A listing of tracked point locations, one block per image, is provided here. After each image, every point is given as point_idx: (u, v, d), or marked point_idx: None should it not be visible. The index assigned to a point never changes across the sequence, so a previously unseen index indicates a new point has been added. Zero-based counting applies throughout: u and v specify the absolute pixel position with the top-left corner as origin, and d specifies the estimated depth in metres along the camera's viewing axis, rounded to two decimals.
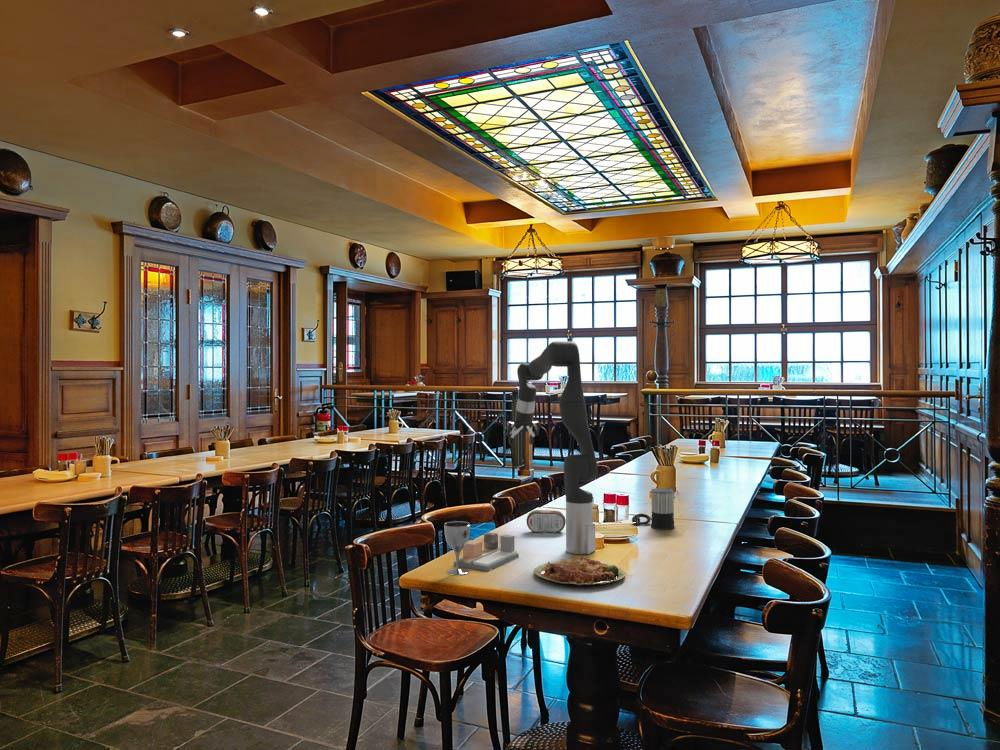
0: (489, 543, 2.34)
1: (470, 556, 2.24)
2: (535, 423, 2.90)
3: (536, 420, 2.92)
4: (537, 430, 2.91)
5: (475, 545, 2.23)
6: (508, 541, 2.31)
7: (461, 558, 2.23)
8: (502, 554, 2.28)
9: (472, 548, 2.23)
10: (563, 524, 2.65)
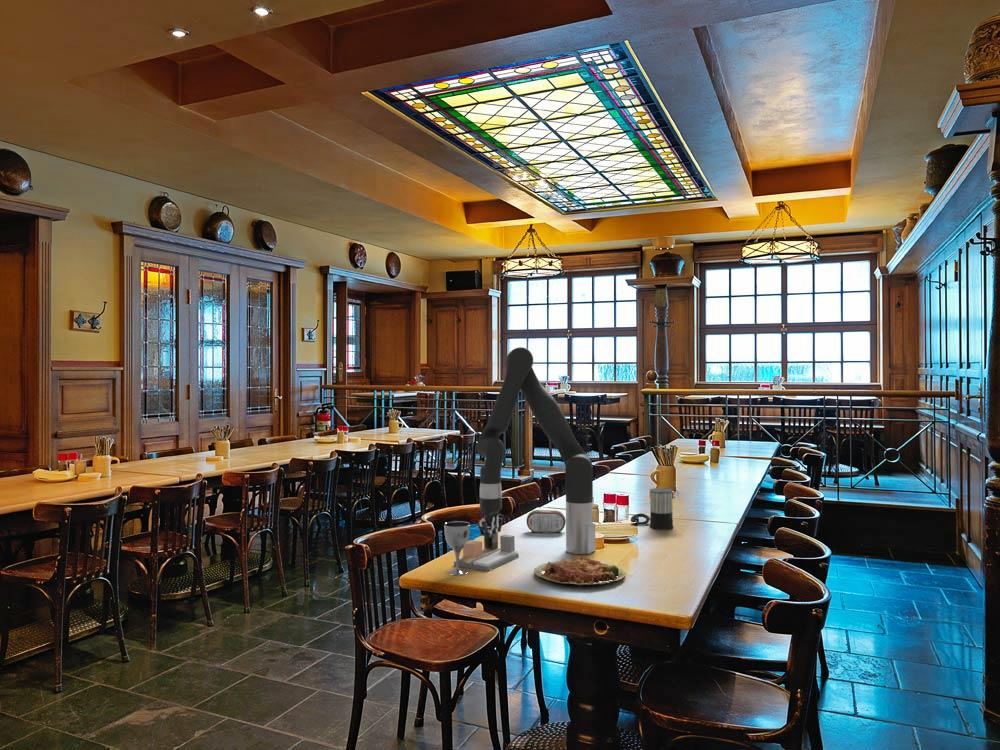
0: None
1: (470, 556, 2.24)
2: (499, 515, 2.40)
3: None
4: (500, 525, 2.39)
5: (475, 545, 2.23)
6: (508, 541, 2.31)
7: (461, 558, 2.23)
8: (502, 554, 2.28)
9: (472, 548, 2.23)
10: (563, 524, 2.65)
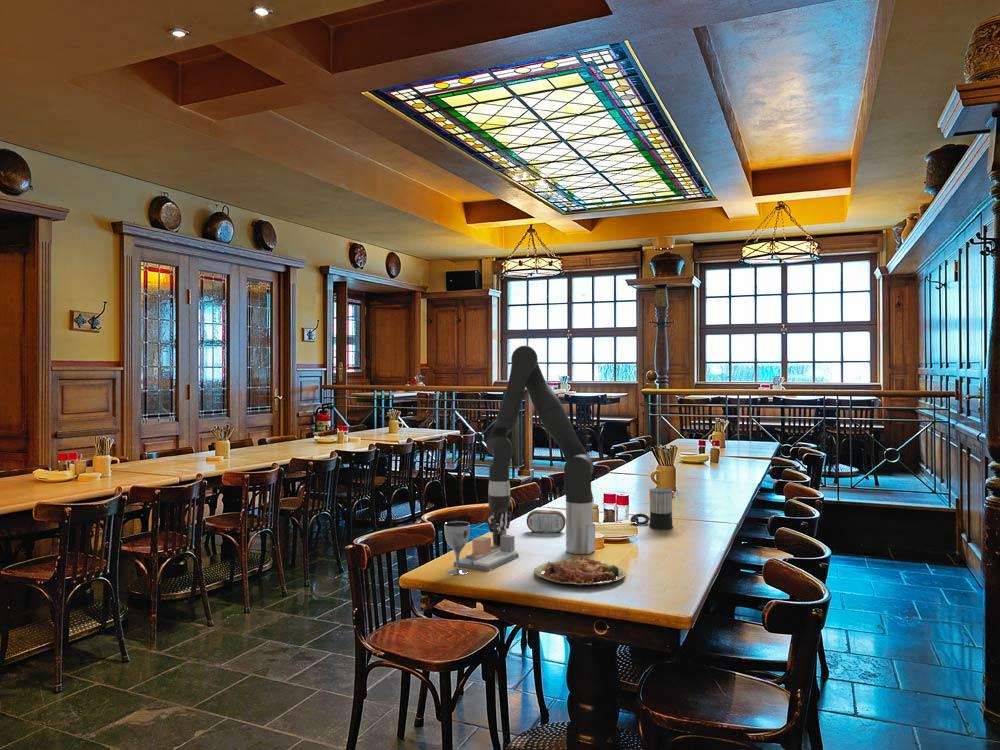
0: None
1: (479, 552, 2.28)
2: (507, 512, 2.44)
3: None
4: (508, 522, 2.43)
5: (484, 541, 2.28)
6: (508, 541, 2.31)
7: (471, 554, 2.28)
8: (502, 554, 2.28)
9: (481, 545, 2.28)
10: (563, 524, 2.65)
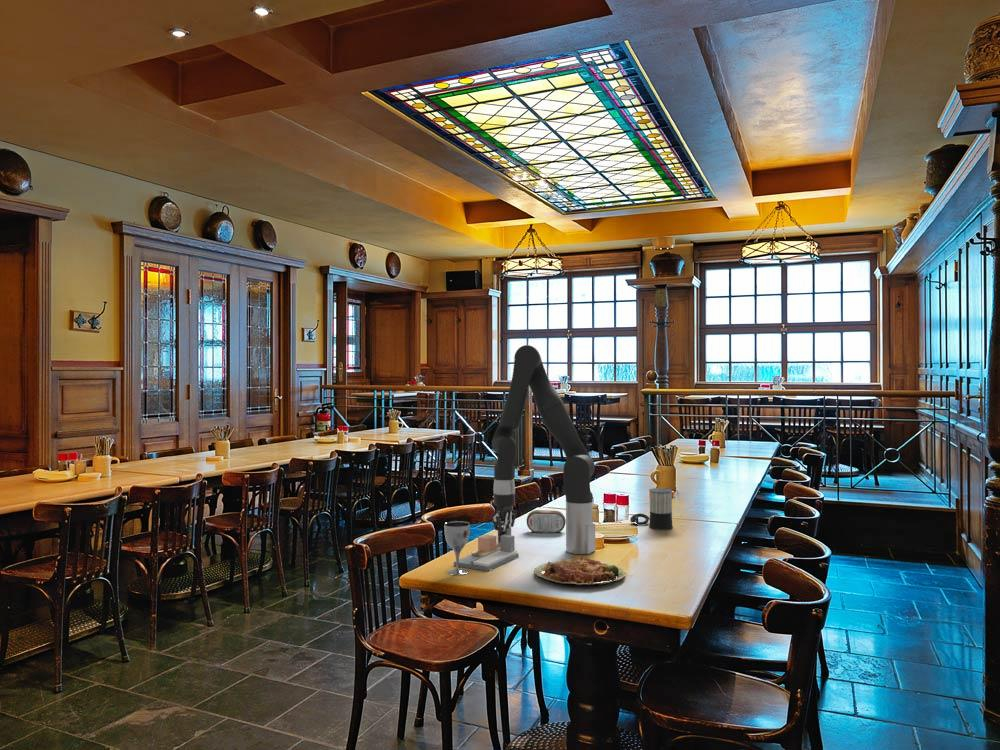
0: None
1: (485, 550, 2.31)
2: (512, 511, 2.47)
3: None
4: (513, 520, 2.46)
5: (490, 539, 2.31)
6: (508, 541, 2.31)
7: (476, 552, 2.31)
8: (502, 554, 2.28)
9: (487, 542, 2.31)
10: (563, 524, 2.65)
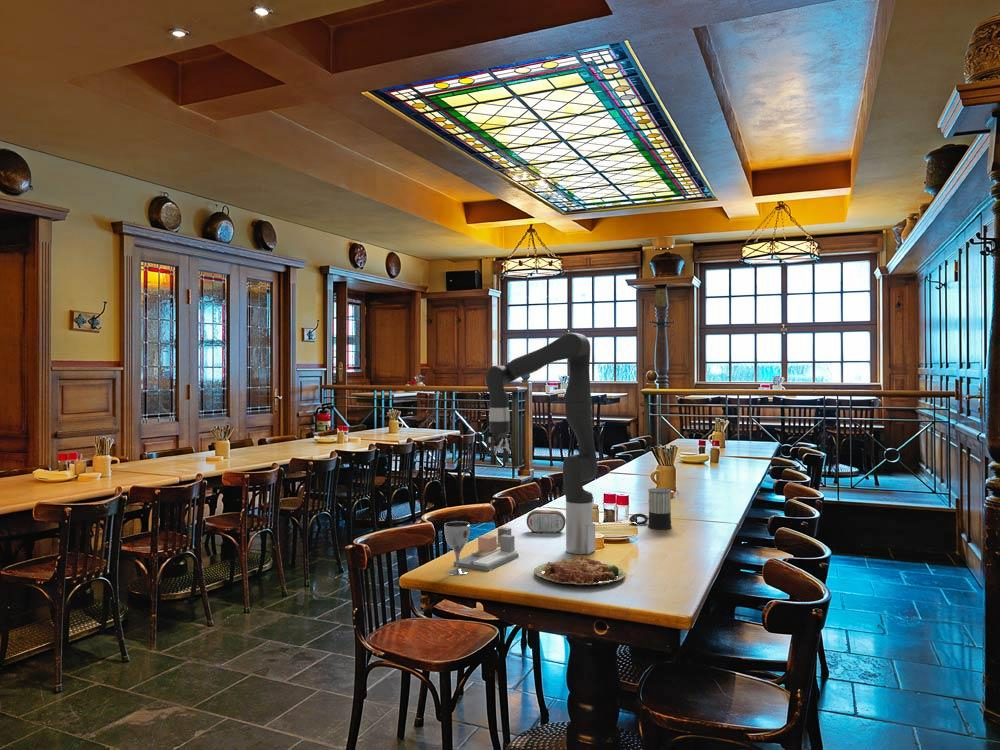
0: None
1: (485, 550, 2.31)
2: (507, 436, 2.60)
3: None
4: (510, 444, 2.60)
5: (490, 539, 2.31)
6: (508, 541, 2.31)
7: (476, 552, 2.31)
8: (502, 554, 2.28)
9: (487, 542, 2.31)
10: (563, 524, 2.65)
